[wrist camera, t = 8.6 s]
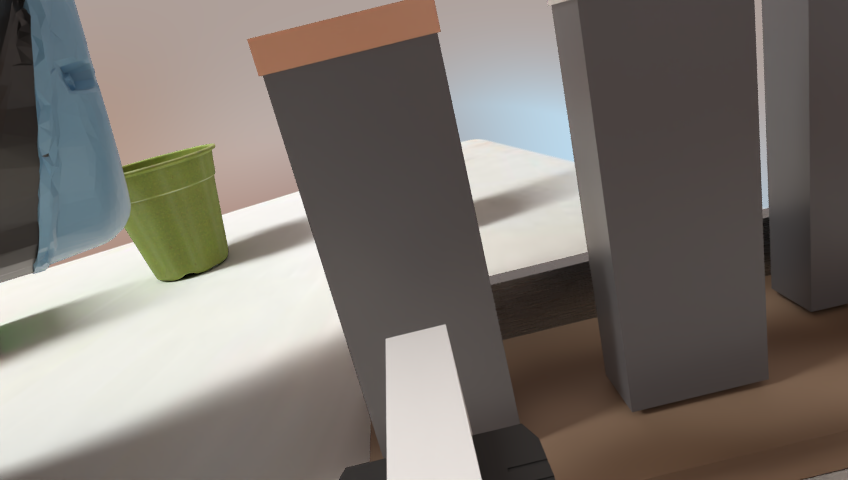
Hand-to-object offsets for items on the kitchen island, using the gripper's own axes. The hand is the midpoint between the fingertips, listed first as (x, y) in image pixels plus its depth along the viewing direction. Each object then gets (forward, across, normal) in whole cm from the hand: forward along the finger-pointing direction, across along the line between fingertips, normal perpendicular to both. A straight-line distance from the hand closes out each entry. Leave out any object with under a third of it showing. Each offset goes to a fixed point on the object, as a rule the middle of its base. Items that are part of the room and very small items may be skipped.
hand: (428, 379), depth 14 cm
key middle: (+6, +9, -6) cm, 12 cm away
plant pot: (+43, -23, -8) cm, 50 cm away
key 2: (+6, 0, -6) cm, 8 cm away
